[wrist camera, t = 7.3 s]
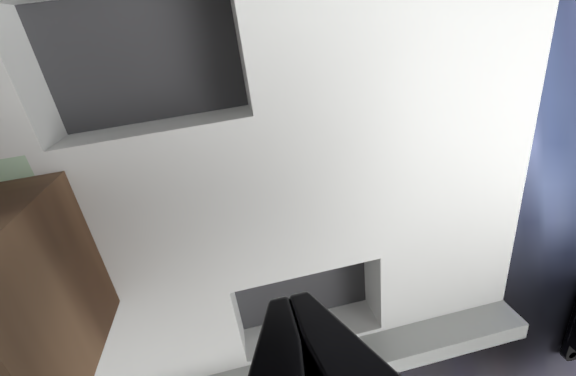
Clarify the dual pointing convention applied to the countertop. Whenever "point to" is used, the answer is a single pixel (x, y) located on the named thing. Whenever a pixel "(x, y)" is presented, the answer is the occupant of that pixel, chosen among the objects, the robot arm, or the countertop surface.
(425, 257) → the board
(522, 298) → the countertop surface
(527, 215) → the countertop surface
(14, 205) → the block
